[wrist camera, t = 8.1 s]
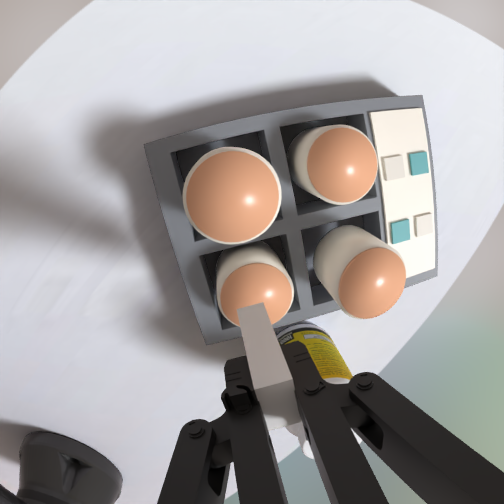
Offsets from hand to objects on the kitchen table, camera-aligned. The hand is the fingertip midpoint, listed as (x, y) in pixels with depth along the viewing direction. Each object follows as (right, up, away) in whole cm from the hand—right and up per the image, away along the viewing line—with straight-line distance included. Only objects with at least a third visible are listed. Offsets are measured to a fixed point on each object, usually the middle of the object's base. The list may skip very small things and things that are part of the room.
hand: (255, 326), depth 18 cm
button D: (+5, +11, +5) cm, 13 cm away
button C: (+7, +4, +5) cm, 9 cm away
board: (+4, +7, +7) cm, 11 cm away
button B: (-2, +8, +3) cm, 9 cm away
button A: (0, +3, +7) cm, 8 cm away
